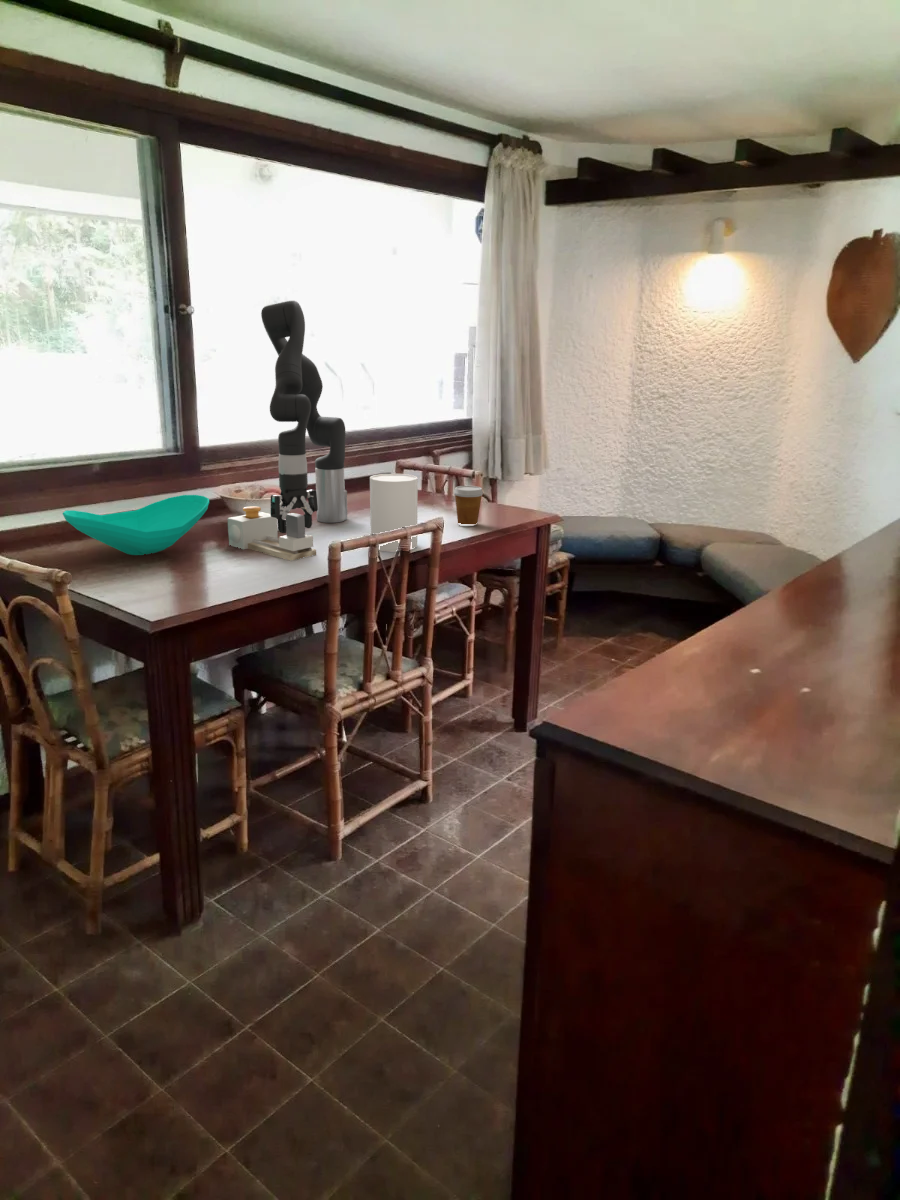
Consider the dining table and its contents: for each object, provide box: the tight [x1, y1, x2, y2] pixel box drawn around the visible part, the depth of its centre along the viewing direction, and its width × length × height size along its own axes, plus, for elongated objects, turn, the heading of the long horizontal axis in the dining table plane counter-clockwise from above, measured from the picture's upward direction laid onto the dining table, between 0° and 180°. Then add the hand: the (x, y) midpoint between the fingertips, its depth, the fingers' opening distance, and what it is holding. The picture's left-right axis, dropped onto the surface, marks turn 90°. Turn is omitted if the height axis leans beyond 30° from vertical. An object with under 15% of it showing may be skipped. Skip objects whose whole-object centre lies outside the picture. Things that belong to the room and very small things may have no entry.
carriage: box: [278, 512, 314, 551], centre depth 227 cm, size 7×6×9 cm
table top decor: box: [62, 494, 210, 556], centre depth 229 cm, size 40×28×13 cm
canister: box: [369, 473, 419, 553], centre depth 239 cm, size 14×14×20 cm
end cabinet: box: [226, 511, 279, 550], centre depth 240 cm, size 12×7×8 cm, turn 139°
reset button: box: [242, 506, 262, 519], centre depth 239 cm, size 5×5×4 cm
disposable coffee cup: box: [453, 485, 484, 524], centre depth 269 cm, size 10×10×12 cm
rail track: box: [247, 537, 317, 562], centre depth 233 cm, size 9×19×2 cm, turn 49°
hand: (295, 530), depth 227 cm, fingers open, 8 cm apart
